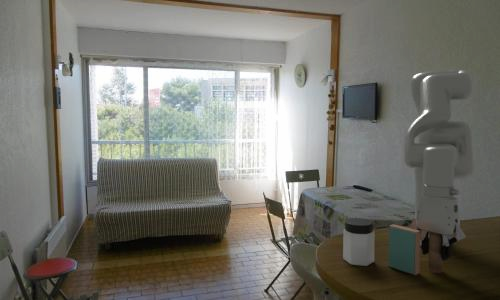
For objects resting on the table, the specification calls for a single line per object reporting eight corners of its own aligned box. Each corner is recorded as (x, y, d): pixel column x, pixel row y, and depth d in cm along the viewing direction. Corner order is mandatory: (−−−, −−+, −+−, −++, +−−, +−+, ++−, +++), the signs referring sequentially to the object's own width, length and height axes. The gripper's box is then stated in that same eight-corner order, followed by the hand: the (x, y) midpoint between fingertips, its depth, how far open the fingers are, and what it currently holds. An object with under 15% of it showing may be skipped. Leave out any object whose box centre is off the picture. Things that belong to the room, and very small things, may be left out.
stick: (431, 267, 102) (433, 226, 101) (444, 271, 100) (445, 228, 99) (426, 270, 100) (427, 228, 99) (438, 274, 98) (439, 231, 97)
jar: (379, 264, 105) (380, 224, 104) (354, 267, 103) (354, 226, 102) (362, 253, 113) (362, 216, 112) (339, 256, 111) (339, 218, 110)
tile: (392, 264, 105) (393, 224, 104) (419, 273, 99) (420, 230, 98) (387, 266, 103) (388, 225, 102) (414, 275, 97) (415, 232, 96)
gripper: (477, 194, 94) (474, 262, 95) (414, 185, 107) (412, 245, 109) (465, 198, 89) (462, 269, 91) (401, 188, 103) (399, 250, 104)
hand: (435, 255), depth 100 cm, fingers open, 4 cm apart
